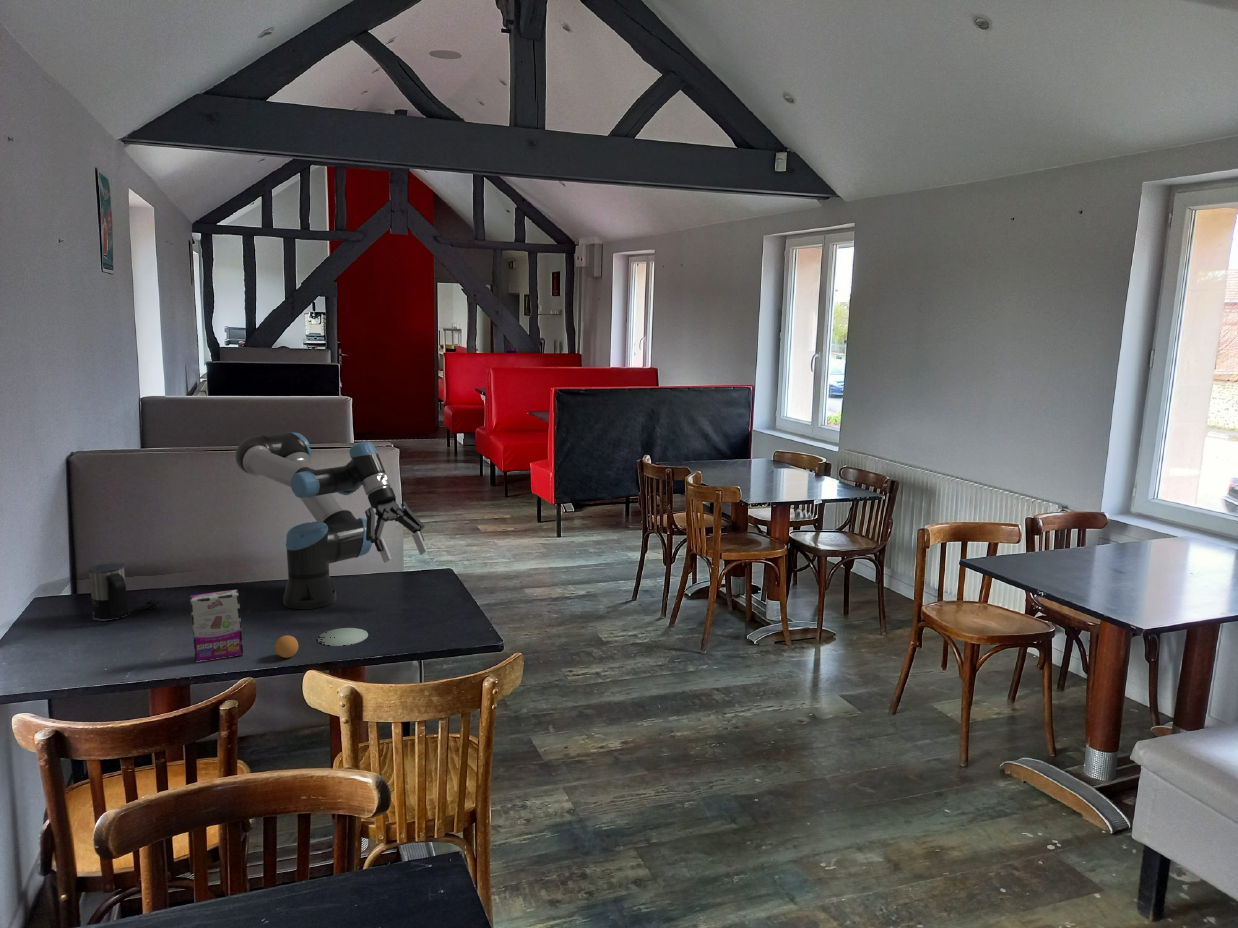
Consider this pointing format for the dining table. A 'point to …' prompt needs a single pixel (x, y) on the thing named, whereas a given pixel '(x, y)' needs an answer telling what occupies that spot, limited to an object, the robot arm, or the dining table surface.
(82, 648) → the dining table surface
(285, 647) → the ball
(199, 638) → the candy bar box
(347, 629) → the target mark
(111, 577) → the milk frother
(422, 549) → the robot arm
